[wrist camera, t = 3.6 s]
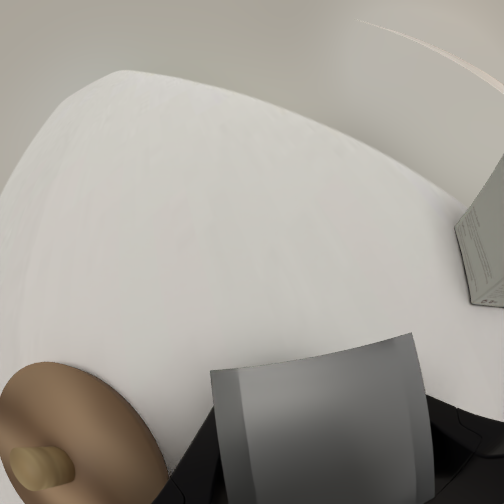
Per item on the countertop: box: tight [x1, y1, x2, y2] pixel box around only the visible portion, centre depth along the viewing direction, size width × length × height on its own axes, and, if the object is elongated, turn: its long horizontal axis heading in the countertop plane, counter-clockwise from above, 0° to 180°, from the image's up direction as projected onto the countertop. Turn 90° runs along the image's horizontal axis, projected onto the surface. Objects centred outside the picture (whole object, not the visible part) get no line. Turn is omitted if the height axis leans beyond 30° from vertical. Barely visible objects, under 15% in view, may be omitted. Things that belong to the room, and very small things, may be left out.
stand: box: [0, 362, 169, 504], centre depth 8 cm, size 14×14×5 cm
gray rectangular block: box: [210, 332, 435, 504], centre depth 9 cm, size 5×5×10 cm
